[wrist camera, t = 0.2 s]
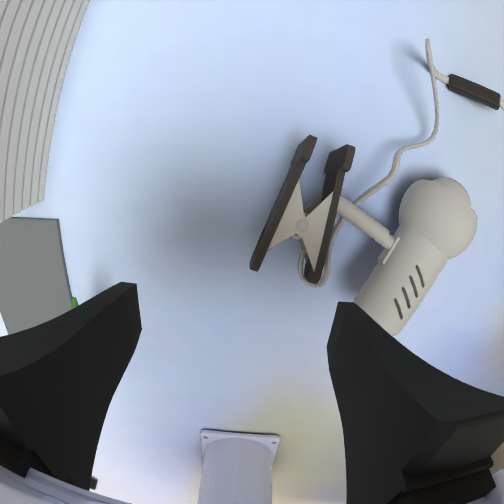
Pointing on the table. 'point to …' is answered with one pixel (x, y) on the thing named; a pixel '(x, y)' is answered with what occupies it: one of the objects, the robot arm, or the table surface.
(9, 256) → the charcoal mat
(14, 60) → the stack of papers
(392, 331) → the clip-on lamp
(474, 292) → the table surface
